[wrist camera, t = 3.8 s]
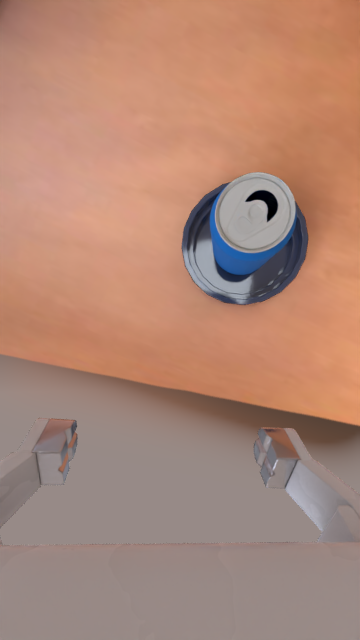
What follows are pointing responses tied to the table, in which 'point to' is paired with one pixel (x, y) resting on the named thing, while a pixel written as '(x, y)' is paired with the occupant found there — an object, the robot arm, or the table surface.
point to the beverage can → (251, 222)
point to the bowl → (233, 286)
